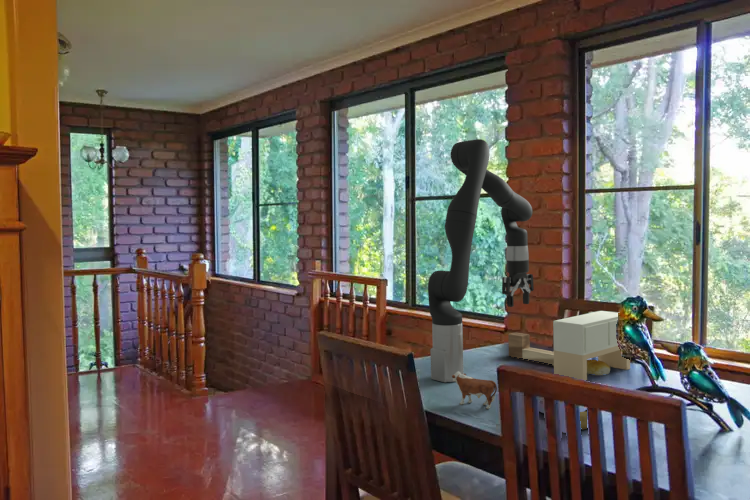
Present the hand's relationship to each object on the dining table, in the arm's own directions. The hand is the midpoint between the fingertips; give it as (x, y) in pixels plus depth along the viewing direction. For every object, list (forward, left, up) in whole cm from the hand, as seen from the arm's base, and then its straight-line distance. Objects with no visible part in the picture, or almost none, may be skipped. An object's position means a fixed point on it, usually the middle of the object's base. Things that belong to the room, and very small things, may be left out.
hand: (518, 305), depth 216 cm
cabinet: (-2, -30, -18) cm, 35 cm away
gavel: (-46, -48, -19) cm, 69 cm away
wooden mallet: (0, -9, -18) cm, 20 cm away
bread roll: (0, -30, -19) cm, 35 cm away
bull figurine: (-52, -26, -18) cm, 61 cm away
